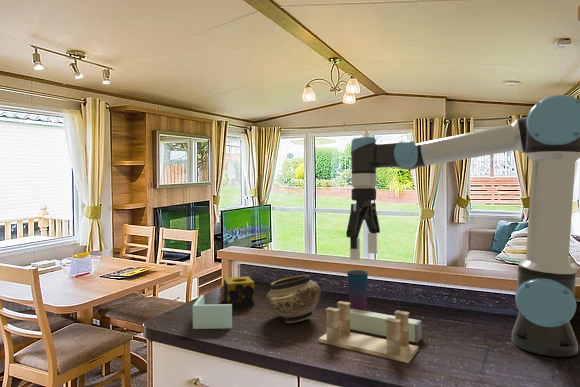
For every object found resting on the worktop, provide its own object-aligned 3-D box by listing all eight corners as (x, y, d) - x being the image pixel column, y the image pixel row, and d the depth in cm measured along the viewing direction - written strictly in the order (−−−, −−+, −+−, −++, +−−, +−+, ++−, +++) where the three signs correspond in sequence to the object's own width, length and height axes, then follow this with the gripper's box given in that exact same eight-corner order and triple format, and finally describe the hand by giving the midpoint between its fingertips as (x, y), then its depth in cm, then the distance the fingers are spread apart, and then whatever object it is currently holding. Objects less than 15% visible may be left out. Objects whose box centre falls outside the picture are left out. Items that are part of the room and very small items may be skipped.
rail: (421, 338, 109) (421, 320, 109) (417, 342, 106) (417, 324, 106) (350, 324, 122) (350, 308, 122) (345, 327, 118) (345, 311, 118)
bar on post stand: (418, 350, 101) (418, 313, 101) (408, 363, 94) (407, 323, 93) (333, 331, 115) (333, 299, 115) (318, 342, 107) (318, 307, 107)
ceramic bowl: (303, 338, 110) (302, 286, 110) (250, 329, 118) (250, 280, 118) (332, 313, 132) (331, 270, 132) (286, 307, 140) (285, 266, 140)
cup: (368, 320, 125) (367, 274, 125) (347, 319, 126) (346, 273, 126) (368, 313, 131) (367, 270, 131) (348, 312, 133) (347, 269, 133)
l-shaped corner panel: (231, 329, 119) (231, 305, 119) (192, 329, 119) (192, 305, 119) (236, 316, 131) (236, 294, 131) (201, 317, 131) (201, 295, 131)
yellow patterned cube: (222, 304, 145) (222, 277, 145) (249, 301, 148) (249, 275, 148) (226, 312, 135) (226, 283, 135) (254, 309, 138) (254, 281, 138)
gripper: (367, 187, 131) (368, 250, 131) (334, 187, 110) (334, 261, 110) (389, 187, 127) (389, 251, 127) (358, 187, 106) (359, 264, 106)
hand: (364, 256), depth 119 cm, fingers open, 13 cm apart
